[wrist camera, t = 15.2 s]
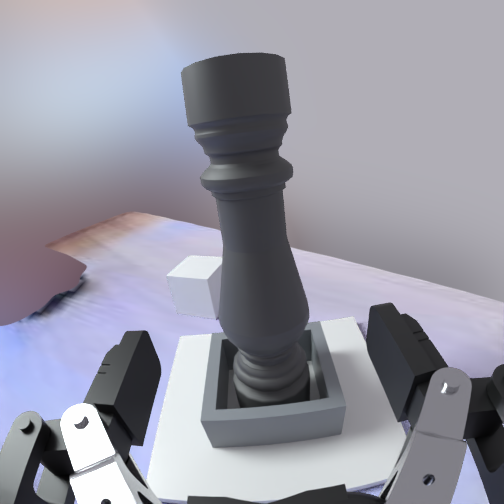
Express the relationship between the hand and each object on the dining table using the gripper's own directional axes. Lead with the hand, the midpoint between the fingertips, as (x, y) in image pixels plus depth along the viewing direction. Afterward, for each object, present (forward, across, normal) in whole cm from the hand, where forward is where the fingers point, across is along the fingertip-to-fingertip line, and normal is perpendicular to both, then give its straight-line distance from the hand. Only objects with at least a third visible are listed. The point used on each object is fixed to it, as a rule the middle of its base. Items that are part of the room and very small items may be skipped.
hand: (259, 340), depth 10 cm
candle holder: (+9, 0, +15) cm, 17 cm away
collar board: (+9, 0, +16) cm, 18 cm away
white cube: (+27, +8, +16) cm, 32 cm away
